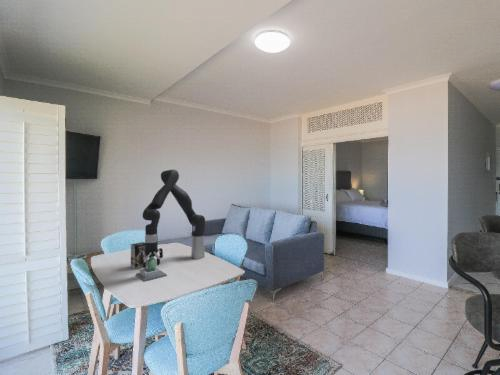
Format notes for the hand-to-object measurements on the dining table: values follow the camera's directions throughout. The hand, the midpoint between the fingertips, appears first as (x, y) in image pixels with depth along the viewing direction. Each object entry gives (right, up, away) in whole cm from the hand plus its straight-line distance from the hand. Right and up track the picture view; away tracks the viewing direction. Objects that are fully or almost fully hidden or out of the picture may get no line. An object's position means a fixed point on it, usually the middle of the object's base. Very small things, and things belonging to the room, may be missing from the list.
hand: (151, 266), depth 168 cm
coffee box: (-14, -5, +16) cm, 22 cm away
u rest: (0, -6, 0) cm, 6 cm away
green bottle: (0, -5, 0) cm, 5 cm away
